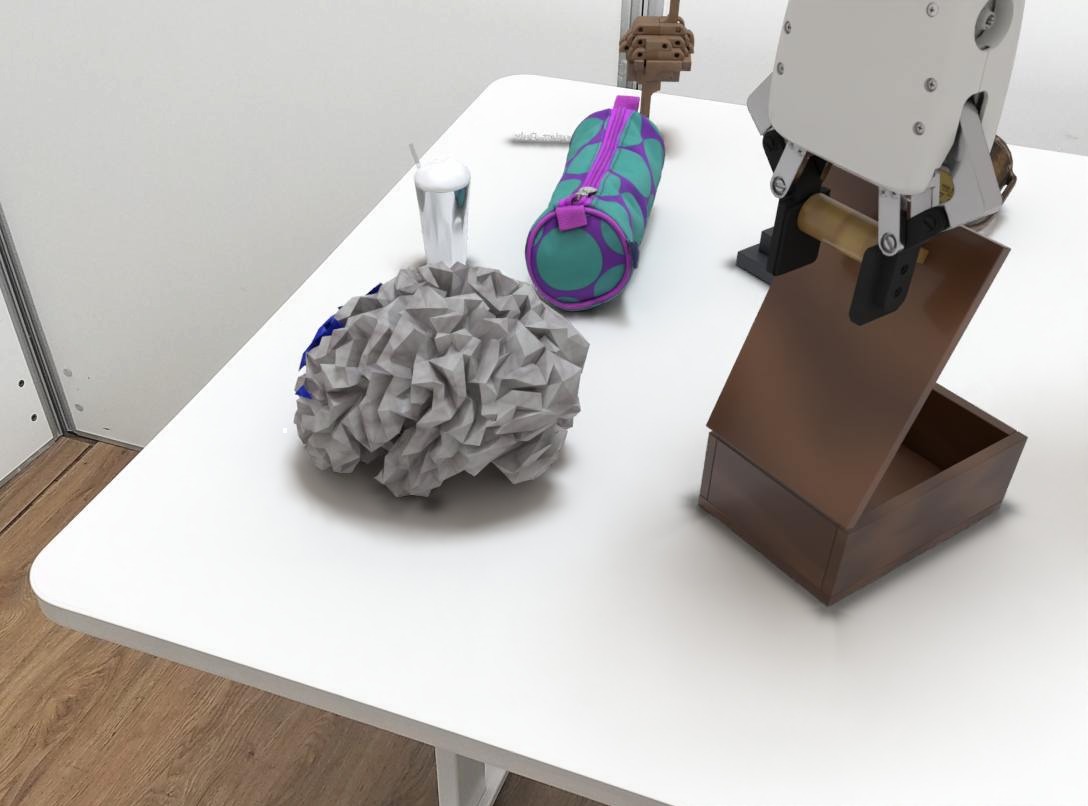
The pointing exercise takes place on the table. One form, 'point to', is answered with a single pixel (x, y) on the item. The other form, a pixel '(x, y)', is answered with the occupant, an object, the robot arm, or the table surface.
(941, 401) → the brown wooden case body
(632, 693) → the table surface
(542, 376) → the educational model
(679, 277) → the table surface
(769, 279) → the push button base
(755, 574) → the table surface
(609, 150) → the pencil case
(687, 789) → the table surface
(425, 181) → the milkshake
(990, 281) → the case lid
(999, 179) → the vintage brass clock
